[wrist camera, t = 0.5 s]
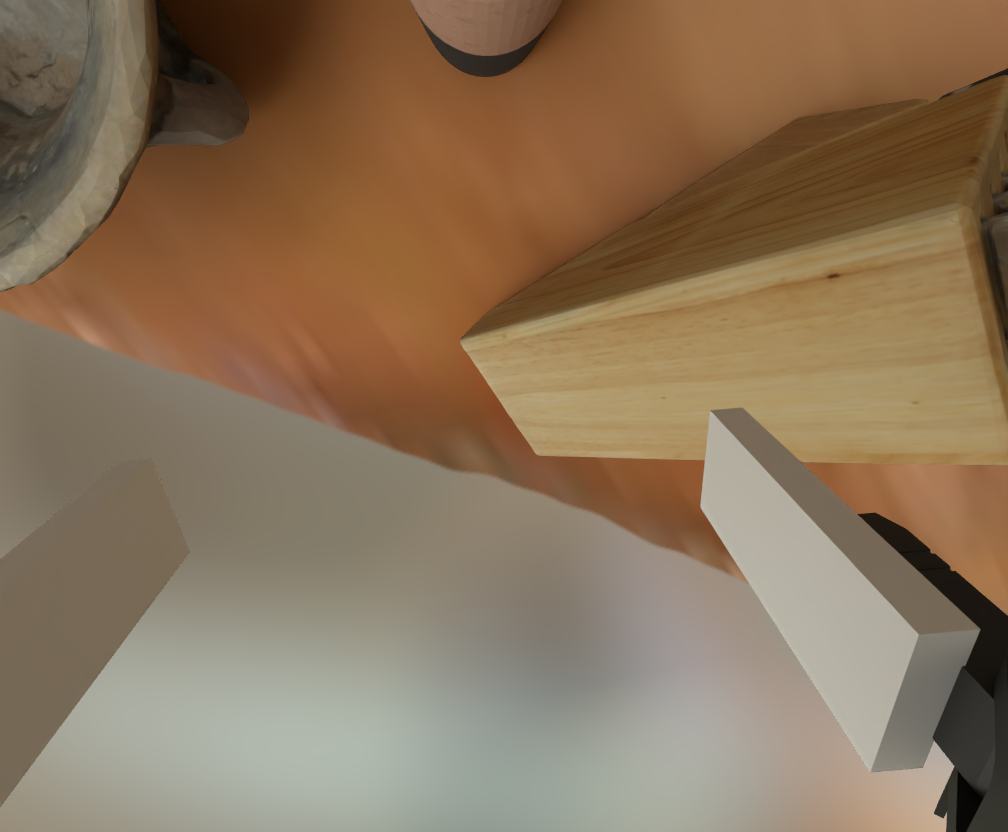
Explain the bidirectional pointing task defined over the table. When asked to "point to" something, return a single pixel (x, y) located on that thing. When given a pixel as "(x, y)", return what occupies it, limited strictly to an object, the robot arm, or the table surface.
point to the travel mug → (485, 31)
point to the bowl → (91, 117)
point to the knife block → (787, 301)
